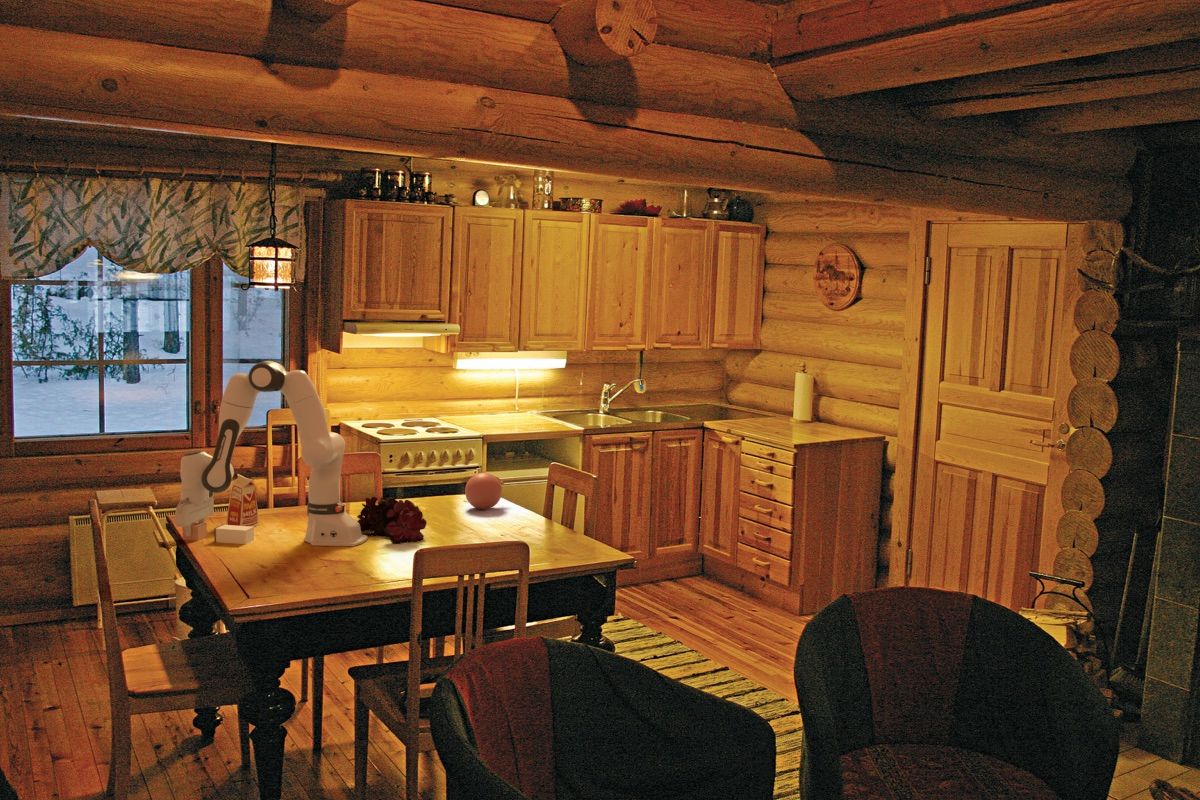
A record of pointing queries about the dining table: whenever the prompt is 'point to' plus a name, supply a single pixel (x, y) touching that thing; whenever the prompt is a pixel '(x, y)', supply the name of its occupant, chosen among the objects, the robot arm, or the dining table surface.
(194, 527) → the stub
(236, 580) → the dining table surface
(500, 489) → the balloon
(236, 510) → the milk carton
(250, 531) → the cream rectangular block
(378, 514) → the flower arrangement
